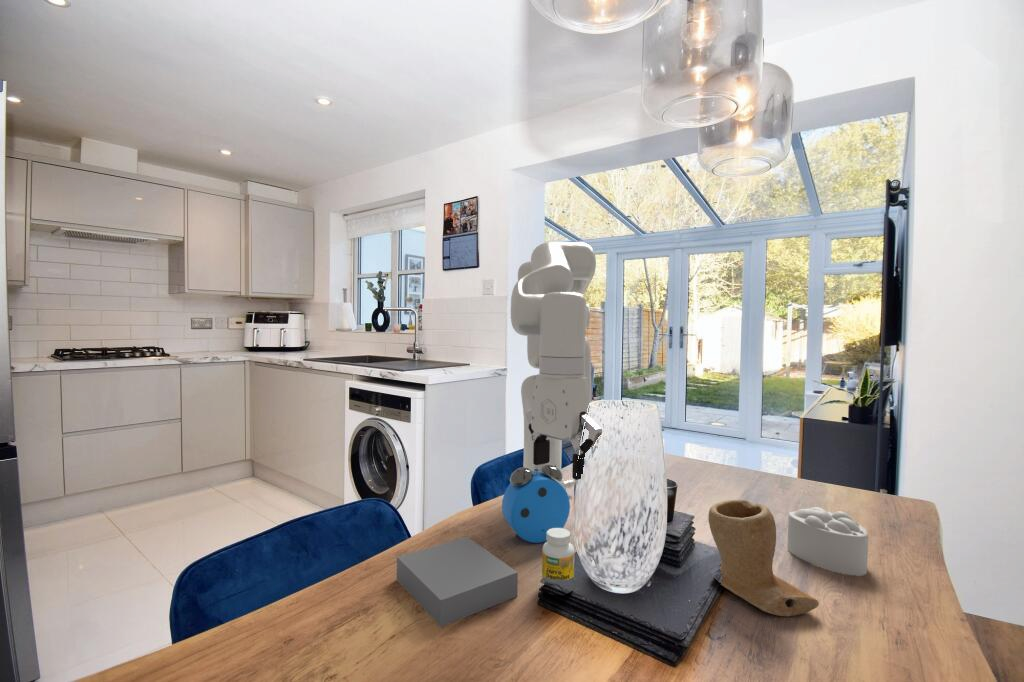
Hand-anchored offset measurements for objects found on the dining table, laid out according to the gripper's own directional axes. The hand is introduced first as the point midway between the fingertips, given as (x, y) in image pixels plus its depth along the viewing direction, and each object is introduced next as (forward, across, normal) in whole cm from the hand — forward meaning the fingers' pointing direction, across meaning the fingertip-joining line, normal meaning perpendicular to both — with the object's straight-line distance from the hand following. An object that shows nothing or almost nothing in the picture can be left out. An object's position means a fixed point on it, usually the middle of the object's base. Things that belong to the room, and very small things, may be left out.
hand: (560, 470), depth 80 cm
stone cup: (+20, +20, +25) cm, 38 cm away
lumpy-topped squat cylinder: (+20, +21, +51) cm, 59 cm away
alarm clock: (+20, -18, +9) cm, 28 cm away
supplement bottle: (+20, 0, 0) cm, 20 cm away
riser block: (+20, -10, -14) cm, 26 cm away
